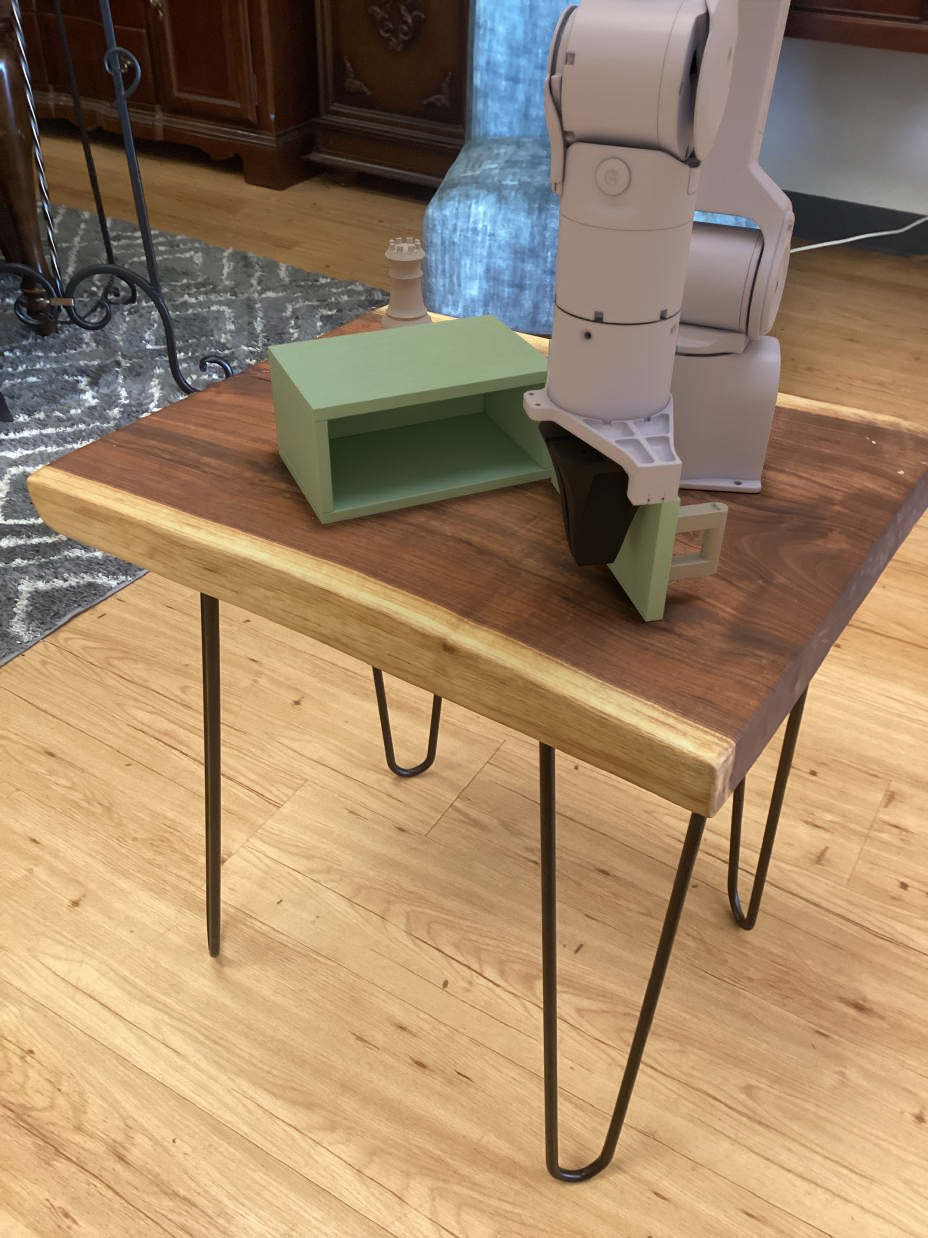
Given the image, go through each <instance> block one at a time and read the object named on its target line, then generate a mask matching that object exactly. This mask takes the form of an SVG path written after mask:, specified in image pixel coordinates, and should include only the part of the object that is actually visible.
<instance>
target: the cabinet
mask: <svg viewBox="0 0 928 1238" xmlns="http://www.w3.org/2000/svg"><path fill="white" fill-rule="evenodd" d="M267 355H268V356H267V357H268V364H269V374H270V380H271V381H270V382H271V383H270V384H271V391H272V402H273V403H272V404H273V410H274V411H273V412H274V420H275V430H276V439H277V450H278V455H279V457H280V458H281V460H282V462H283V463H284V465H285V466H286V468H287V469H288V471H289V473H290V474H291V476H292V478H293V479H294V481H295V482H296V485H297V486H298V487H299V489H300V490H301V493H302V494H303V495H304V497H305V500H306V501H307V502H308V503H309V504H308V505H310V507H311V508H312V510H313V511H314V514H315V515H316V517H317V519H318V520H319V521H320V523H321V525H326V524H331V523H336V522H340V521H341V522H342V521H347V520H351V519H356V518H360V517H365V516H370V515H375V514H381V513H385V512H390V511H395V510H400V509H405V508H411V507H416V506H419V505H424V504H429V503H435V502H439V501H443V500H448V499H454V498H459V497H464V496H468V495H469V496H470V495H474V494H478V493H484V492H488V491H492V490H498V489H502V488H508V487H513V486H519V485H523V484H528V483H531V482H537V481H541V480H546V479H552V467H553V463H552V460H551V457H550V454H549V452H548V449H547V446H546V444H545V442H544V440H543V438H542V435H541V433H540V431H539V429H538V425H539V423H540V422H541V421H535V420H532V419H531V418H530V417H529V416H528V415H527V413H526V411H525V409H524V408H523V399H524V393H526V392H527V391H532V390H541V389H544V388H545V384H546V380H547V375H548V374H547V361H548V356H546V355H544V353H542V352H540V350H538V349H537V348H535V347H534V346H533V345H532V344H530V343H529V342H528V341H527V340H525V339H524V338H523V337H522V336H521V335H519V334H518V333H517V332H516V331H514V330H513V329H512V328H510V327H509V326H508V325H507V324H506V323H504V322H503V321H502V320H500V319H499V318H498V317H496V316H495V315H494V314H493V313H490V314H483V315H476V316H469V317H462V318H456V319H455V318H454V319H448V320H441V321H435V322H434V321H432V323H426V324H419V325H412V326H405V327H398V328H392V329H385V330H384V329H379V330H372V331H365V332H358V333H351V334H343V335H336V336H330V337H321V338H317V339H309V340H302V341H295V342H288V343H280V344H275V345H268V346H267Z"/></svg>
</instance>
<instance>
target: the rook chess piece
mask: <svg viewBox="0 0 928 1238" xmlns="http://www.w3.org/2000/svg"><path fill="white" fill-rule="evenodd" d="M384 257H385V258H386V259H387V261H388V262H389V264H390V270H389V271H388V272H387V274H388V277H390V292H389V301H388V306H387V308H385V314H384V315H383V316H382V317H381V321H380V327H381V328H382V330H385V329H392V328H398V327H405V326H412V325H419V324H426V323H433V320H432V316H431V315H430V314H429V313H428V308H427V307H426V306H425V303H424V298H423V293H422V279H421V278H422V277H423V275H424V271H423V270H422V269H421V263H422V261H424V259H425V257H426V252H425V250H424V249H423V248H422V243H421V240H420V239H418V238H416V239H414V237H410V236H409V237H406V242H403V238H402V237H395V239H390V240H389V241H388V248H387V250H386V251H385V253H384Z"/></svg>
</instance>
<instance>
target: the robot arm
mask: <svg viewBox="0 0 928 1238" xmlns="http://www.w3.org/2000/svg"><path fill="white" fill-rule="evenodd" d="M791 1H792V0H580V2H579V4H578V5H577V4H572V3H571V4H568V6H566V7H565V8H564V9H563V11H562V12H561V14H560V16H559V18H558V20H557V23H556V24H555V25H556V26H555V27H554V32H553V34H552V37H551V43H550V47H549V53H548V57H547V65H546V66H547V67H546V76H545V78H544V92H543V93H544V95H543V96H544V97H543V98H544V99H543V100H544V118H545V124H546V129H547V134H548V139H549V143H550V175H549V182H550V183H551V192H552V193H555V194H557V196H560V197H559V214H558V229H557V246H556V258H555V259H556V261H555V278H554V292H553V293H554V294H553V307H552V308H553V309H552V326H551V327H552V328H551V338H550V339H548V345H547V347H548V348H547V358H548V361H547V374H548V375H547V380H546V384H545V388H544V389H541V390H532V391H527V392H526V393H524V399H523V408H524V409H525V411H526V413H527V415H528V416H529V417H530V418H531V419H532V420H535V421H541V422H540V423H539V425H538V429H539V431H540V433H541V435H542V438H543V440H544V442H545V444H546V446H547V449H548V452H549V454H550V457H551V460H552V463H553V466H554V470H555V473H556V477H557V482H558V486H559V491H560V494H559V496H560V497H559V498H560V504H561V509H562V511H561V512H562V519H563V525H564V531H565V532H564V533H565V537H566V542H567V546H568V550H569V552H570V554H571V556H572V558H573V560H574V562H575V564H576V566H577V567H579V568H580V567H589V566H590V567H591V566H600V565H607V564H611V563H614V562H615V560H616V558H617V555H618V553H619V551H620V549H621V546H622V544H623V542H624V539H625V537H626V534H627V532H628V529H629V527H630V525H631V522H632V520H633V518H634V516H635V514H636V512H637V510H638V508H639V506H640V505H646V504H659V503H667V502H676V501H677V496H678V497H679V489H686V490H701V491H715V492H716V491H717V492H718V491H719V492H730V493H731V492H732V493H745V494H746V493H747V494H749V493H750V494H756V493H757V494H758V493H760V492H761V489H762V481H761V479H762V474H763V469H764V464H765V461H766V455H767V451H768V445H769V441H770V435H771V431H772V425H773V422H774V421H773V420H774V415H775V410H776V405H777V401H778V394H779V387H780V381H781V380H780V377H781V366H782V365H781V364H782V356H781V355H782V354H781V345H780V341H779V339H778V338H777V337H775V336H770V335H767V334H768V333H769V332H770V331H771V330H772V328H773V325H774V324H775V321H776V318H777V315H778V312H779V308H780V305H781V301H782V297H783V292H784V289H785V284H786V280H787V274H788V268H789V262H790V256H791V240H792V237H793V236H792V235H793V230H794V225H795V219H796V218H795V213H794V212H793V203H792V201H791V199H790V198H789V197H788V196H787V194H786V193H785V192H784V191H783V190H782V189H781V188H780V187H779V186H778V184H777V183H776V182H775V181H774V180H773V179H772V178H771V177H770V176H769V175H768V174H767V173H766V172H765V171H764V169H763V168H762V167H761V166H760V164H759V157H760V151H761V148H762V143H763V137H764V134H765V128H766V123H767V118H768V112H769V109H770V104H771V99H772V94H773V88H774V84H775V79H776V74H777V70H778V65H779V59H780V54H781V51H782V50H781V49H782V44H783V40H784V34H785V30H786V26H787V25H786V24H787V19H788V14H789V9H790V6H791ZM695 212H700V213H708V214H717V215H724V216H733V217H742V218H745V219H749V220H751V221H752V222H753V223H754V224H756V226H758V228H757V227H756V228H755V227H748V226H740V225H739V226H738V225H733V224H732V225H730V224H723V223H717V222H707V221H701V220H694V218H695Z"/></svg>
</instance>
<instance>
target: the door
mask: <svg viewBox="0 0 928 1238" xmlns="http://www.w3.org/2000/svg"><path fill="white" fill-rule="evenodd" d="M551 485H553V487H554V488H555V489H554V490H556V492H557V493H558V495H560V491H559V486H558V482H557V477H556V473H555V470H554V466H553V467H552V478H551ZM681 502H682V499H681V497H679V495H678V496H677V501H676V502H667V503H659V504H646V505H640V506H639V508H638V510H637V512H636V514H635V516H634V518H633V520H632V522H631V525H630V527H629V529H628V532H627V534H626V537H625V539H624V542H623V544H622V546H621V549H620V551H619V553H618V555H617V558H616V560H615V562H614V563H611V564H606V566H607V567H608V569H609V570H610V571H611V573H612V574H613V576H614V578H615V579H616V580H617V582H618V584H619V585H620V586H621V588H622V589H623V590H624V592H625V594H626V595H627V597H628V598H629V600H630V601H631V602H632V604H633V606H634V607H635V608H636V610H637V611H638V613H639V614H640V616H641V618H642V619H643V620H644V621H645V622H653V621H661V620H663V617H664V612H665V607H666V606H665V605H666V598H667V592H668V585H669V582H675V581H676V582H677V581H682V580H683V581H684V580H688V579H689V580H690V579H697V578H703V577H708V576H709V577H710V576H714V575H716V574H717V572H718V569H719V562H720V556H721V551H722V546H723V542H724V541H723V540H724V536H725V535H724V534H725V530H726V525H727V519H728V513H729V506H728V505H727V503H726V504H725V503H723V502H720V501H712V502H704V503H703V502H702V503H696V504H689V505H681ZM703 530H704V531H703ZM698 531H703V537H702V543H701V547H700V551H698V552H697V551H696V552H690V553H682V554H675V555H673V552H674V547H675V540H676V534H682V533H689V532H698Z"/></svg>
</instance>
